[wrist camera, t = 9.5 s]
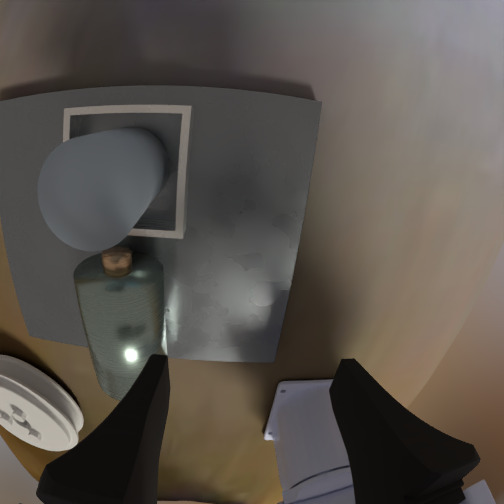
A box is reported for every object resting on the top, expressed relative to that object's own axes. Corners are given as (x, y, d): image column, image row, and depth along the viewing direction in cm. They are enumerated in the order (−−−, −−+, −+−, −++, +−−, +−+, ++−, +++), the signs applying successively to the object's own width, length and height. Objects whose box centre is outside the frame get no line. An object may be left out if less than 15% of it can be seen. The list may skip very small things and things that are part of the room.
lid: (79, 438, 29) (70, 470, 24) (-7, 392, 25) (-22, 420, 21) (94, 388, 25) (80, 429, 20) (-14, 328, 21) (-38, 360, 17)
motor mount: (272, 353, 23) (284, 415, 18) (34, 328, 21) (4, 377, 16) (316, 102, 16) (358, 99, 11) (4, 101, 14) (-57, 109, 8)
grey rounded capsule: (169, 205, 17) (144, 252, 11) (95, 207, 16) (47, 251, 11) (168, 124, 15) (138, 131, 10) (90, 130, 15) (32, 143, 9)
